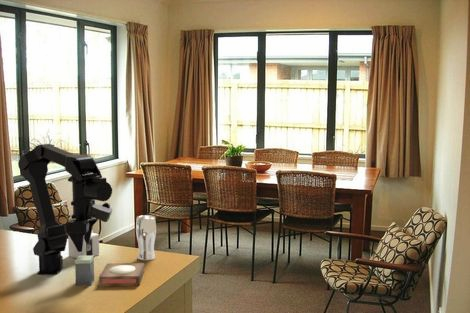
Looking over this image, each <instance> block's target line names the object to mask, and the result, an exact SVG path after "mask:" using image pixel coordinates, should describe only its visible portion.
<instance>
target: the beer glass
mask: <svg viewBox="0 0 470 313" xmlns="http://www.w3.org/2000/svg"><path fill="white" fill-rule="evenodd" d="M156 222H157V221H156V216H155V215H151V214H145V215H144V214H143V215H137V216H136V224H135V225H136V226H135V232H136V240H137V243H138V244H137V246H138V254H137V255H138V256H137V259H138V260H139V261H142V262H148V261H149V262H150V261H153V260H155V259H156V254H155V242H156V235H157V223H156Z"/></svg>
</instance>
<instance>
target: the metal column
mask: <svg viewBox="0 0 470 313" xmlns="http://www.w3.org/2000/svg"><path fill="white" fill-rule="evenodd" d="M94 257H95V256H78V257H77V258H75V260H74V264H75V266H74V268H75V286H76V287H78V286H79V287H81V286H82V287H83V286H85V287H86V286H87V287H89V286H92V284H93V283H94V281H95V262H94V260H95V259H94Z"/></svg>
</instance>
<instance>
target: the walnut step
mask: <svg viewBox="0 0 470 313" xmlns="http://www.w3.org/2000/svg"><path fill="white" fill-rule="evenodd" d="M144 274H145V263H144V262H136V263H135V262H131V263H130V262H128V263H127V262H124V263H123V262H121V263H120V262H119V263H118V262H117V263H110V262H109V263H106V265H105V266H104V268H103V270H102V272H101V273H100V275H99V276H98V281H99V282H98V283H99V284H98V286H99V287H125V286H127V287H128V286H129V287H132V286H135V287H136V286H140V284H141V283H142V280H143V276H144Z"/></svg>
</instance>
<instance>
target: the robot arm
mask: <svg viewBox="0 0 470 313" xmlns="http://www.w3.org/2000/svg"><path fill="white" fill-rule="evenodd" d="M51 162H53V163H55V164H57V165H59V166H62V167H64V170H65V172H67V173H68V174H69V175H71V176H70V177H68V178H67V182H69V183H70V182H71V183H72V184H71V187H72V188H71V191H72V192H71V193H72V201H70V206H72V214H71V216H70V220H69V221H67V222H66V223H65V224H64V223H62V224H60V223H58V221H57V219H56V216H55V212H54V208H53V203H52V200H51V197H50V192H49V189H48V185H47V181H46V177H47V174H48V171H49V168H48V165H49V164H50V163H51ZM17 165H18V168H19V170H20V173H21V176H22V177H23V178H24V179H25V181H27V182H28V183H29V186H30V190H31V194H32V198H33V202H34V205H35V206H34V207H35V210H36V213H37V217H38V221H39V224H40V226H39V228H38V231H37V242H36V243H35V245H34V247H33V248H32V251H33V255H35V256H37V257H38V271H37V275H54V274H55V275H58V274H59V272H60V271H62V269H63V268H64V264H63V263H64V258H63V255H62V253H61V252H64V251H66V246H67V243H68V236H70V238H71V240H72V241H73V243H74V245H75V247H76V249H77V251H78V252H82V249H83V242H84V240H85V242H86V243H89V242H90V238H91V233H93V232H92V229H93V228H94V225H95V224H96V223H97V222H98V221H99V220H100V221H101V222H104V223H107V222H108V221H109V220H110V217H111V214H112V212H113V208H111V203H109V202H106V201H109V199H110V198H111V197H112V195H113V188H112V185H111V183H109V182H108V181H107V178H106V177H103V176H102V174H101V173H102V172H101V171H100V168H99V167H98V165H97V163H96V161H95V159H94V157H93V156H92V155H89V154H78V153H77V154H75V153H72V152H69V151H67V150H65V149H62V148H59V147H57V146H54V144H51V143H43V144H42V143H41V144H37V145H36V146H34V148H33V149H31V150H29V151H28V152H26V153H24V154H23V155H22V156H21V157H20V159H18V162H17ZM96 201H99V202H104V203H103V204H97V203H96ZM93 230H94V229H93Z"/></svg>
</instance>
